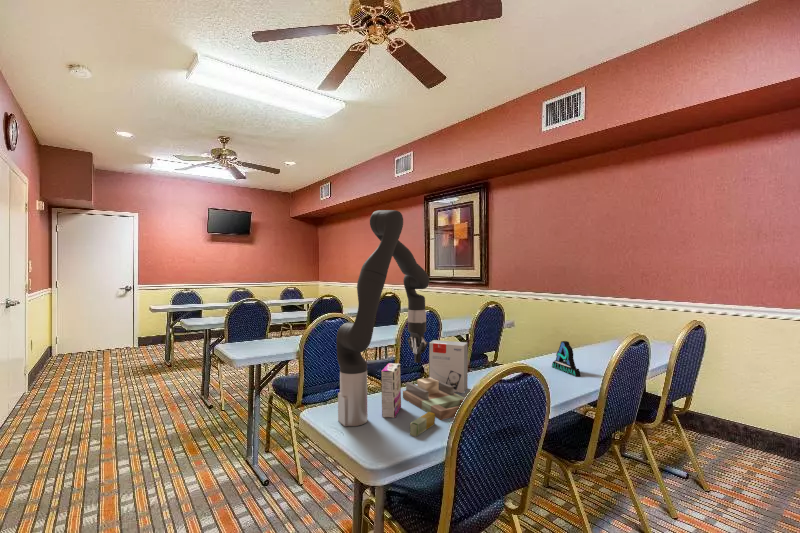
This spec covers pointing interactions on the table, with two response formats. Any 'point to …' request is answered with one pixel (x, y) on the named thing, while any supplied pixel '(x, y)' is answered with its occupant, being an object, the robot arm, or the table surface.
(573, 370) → the decorative sign
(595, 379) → the table surface
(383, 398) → the candy bar box
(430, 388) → the ash block
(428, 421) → the medication box
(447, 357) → the hard drive box
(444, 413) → the corridor deck
